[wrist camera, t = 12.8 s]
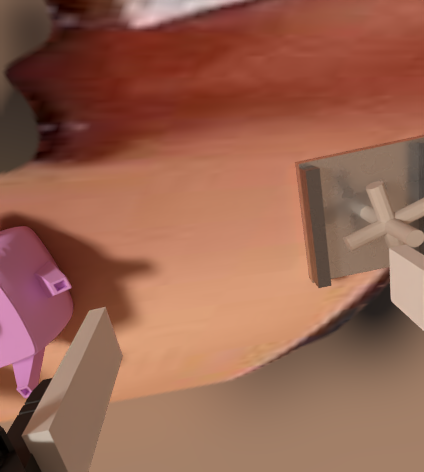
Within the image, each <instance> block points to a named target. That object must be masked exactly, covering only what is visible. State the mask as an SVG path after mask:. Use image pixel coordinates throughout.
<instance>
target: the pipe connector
mask: <svg viewBox="0 0 424 472" xmlns="http://www.w3.org/2000/svg"><path fill="white" fill-rule="evenodd" d="M366 191H367V193H368V196H369V199H370V201H371V204H372V206H365V207H364V208H363V209H362V210H361V212H360V215H361V217H362V218H363V219H364V220H366V221H368V222H369V223H371V224H369V225H367V226H365V227H363V228H361V229H359V230H357V231H355V232H353V233H351V234H349V235H347V236H345V237H343V239H344V242H345V244H346V246H347V247H348V249H349V250H350V251H353V250H356V249H358V248H360V247H362V246H364V245H366V244H368V243H370V242H372V241H374V240H376V239H378V238H380V237H382V236H384V238H385V241H386V244H387V246H388V249H389V248H391V247H396V246H401V245H405V244H407V245H408V246H410V247H418V246H420V245H421V244H422V243H423V241H424V233H423V232H422V231H420V230H418V229H416V228H414V227H412V226H410V225H408V224H409V223H411V222H413V221H415V220H417V219H419V218H421V217H423V216H424V198H422V199H420V200H418V201H416V202H414V203H412V204H410V205H408V206H406V207H404V208H402V209H400V210H398V211H396V212H394V211H393V208H392V206H391V203H390V200H389V197H388V194H387V192H386V189H385V186H384V183H383V182H382V181H376V182H373V183H370V184H369V185H367V186H366Z"/></svg>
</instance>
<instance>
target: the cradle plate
mask: <svg viewBox="0 0 424 472" xmlns="http://www.w3.org/2000/svg"><path fill="white" fill-rule="evenodd" d="M295 165H296V174H297V182H298V190H299V198H300V206H301V214H302V223H303V231H304V239H305V247H306V255H307V263H308V272H309V278H310V279H311V281H312V282H313V283H314V282H315V283H316V285H317V286H318V288H321V287H326V286H331V279H333V278H338V277H343V276H347V275H352V274H357V273H362V272H367V271H372V270H376V269H381V268H386V267H390V260H389V249H388V246H387V244H386V241H385V238H384V236H382V237H380V238H378V239H376V240H374V241H372V242H370V243H368V244H366V245H364V246H362V247H360V248H358V249H356V250H353V251H350V250H349V249H348V247H347V246H346V244H345V242H344V239H343V237H345V236H347V235H349V234H351V233H353V232H355V231H357V230H359V229H361V228H363V227H365V226H367V225H369V224H371V223H369V222H368V221H366V220H364V219H363V218H362V217H361V215H360V212H361V210H362V209H363V208H364V207H365V206H372V204H371V201H370V199H369V196H368V193H367V191H366V186H367V185H369V184H370V183H373V182H376V181H382V182H383V183H384V186H385V189H386V192H387V194H388V197H389V200H390V203H391V206H392V208H393V211H394V212H396V211H398V210H400V209H402V208H404V207H406V206H408V205H410V204H412V203H414V202H416V201H418V200H420V199H422V198H424V135H422V136H417V137H412V138H408V139H403V140H398V141H393V142H389V143H384V144H379V145H375V146H370V147H365V148H361V149H356V150H351V151H346V152H342V153H337V154H332V155H328V156H323V157H318V158H313V159H309V160H304V161H299V162H295ZM408 225H410V226H412V227H414V228H416V229H418V230H420V231H422V232H423V233H424V216H423V217H421V218H419V219H417V220H415V221H413V222H411V223H409V224H408ZM405 245H407V244H405ZM409 247H410V246H409ZM411 248H413V249H414V250H416V251H418V252H419V253H421V254H423V255H424V241H423V243H422V244H421V245H420V246H418V247H411Z"/></svg>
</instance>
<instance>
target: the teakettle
mask: <svg viewBox="0 0 424 472" xmlns="http://www.w3.org/2000/svg"><path fill="white" fill-rule="evenodd" d="M70 288H72V286H71V284H70V282H69V281H68V279H67V277H66V276H65V275H64V274H63V273H62V272H61V271H60V270H59V268H58V266H57V264H56V262H55V261H54V259H53V257H52V256H51V254H50V253H49V251H48V250H47V248H46V247H45V246H44V244H43V243H42V241H41V240H40V238H39V237H38V236H37V235H36V233H35V232H34V231H33V230H32V229H31V228H29V227H27V226H20V227H13V228H9V229H6V230H2V231H0V368H1V367H4V366H7V365H10V364H13V369H14V373H15V378H16V383H17V389H16V390H17V391H18V392H19V393H20V394H21V395H22V396H23V397H24V398H28V397H29V395H30V393H31V392H32V391H33V390H34V389H35V388H36V387H37V386H38V382H39V377H40V372H41V366H42V361H43V356H44V351H45V346H47V345H48V344H49V343H50V342H51V341H52V340H53V339H54V338H55V337H57V335H58V334H59V333H60V332H61V331H62V330H63V329H64V327H65V326H66V325H67V323H68V322H69V320H70V319H71V317H72V314H73V301H72V298H71V295H70V292H69V290H68V289H70Z"/></svg>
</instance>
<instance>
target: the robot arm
mask: <svg viewBox="0 0 424 472" xmlns="http://www.w3.org/2000/svg"><path fill="white" fill-rule="evenodd" d="M389 260H390V287H391V301H392V302H393V303H394V304H395V305H396V306H397V307H398V308H400V309H401V310H402V311H403V312H404V313H405V314H406V315H407V316H408V317H409V318H410V319H411V320H412V321H414V322H415V323H416V324H417V325H418V326H419V327H420V328H421V329H422V330H423V331H424V255H423V254H421V253H419V252H418V251H416V250H414V249H413V248H411V247H409V246H408V245H401V246H396V247H391V248H389ZM122 357H123V355H122V352H121V349H120V347H119V344H118V341H117V338H116V335H115V332H114V329H113V326H112V324H111V321H110V318H109V315H108V312H107V309H106V307H102V308H98V309H93V310H89V312H88V314H87V315H86V317H85V319H84V321H83V323H82V325H81V327H80V328H79V330H78V332H77V334H76V336H75V338H74V340H73V341H72V343H71V345H70V347H69V349H68V351H67V353H66V354H65V356H64V358H63V360H62V362H61V364H60V365H59V367H58V369H57V371H56V373H55V375H54V377H53V378H50V379H46V380H43V381H42V382H41V383H40V384H39V385H38V386H37V387H36V388H35V389H34V390H33V391H32V392H31V393H30V395H29V397H28V399H27V400H26V402H25V405H23V407H22V409H21V410H20V412H19V415H18V416H17V417H16V419H15V421H14V422H13V424H12V426H11V427H10V429H9V431H8V433H7V434H6V432H5V431H4V429H3V428H2V427H1V426H0V472H89V468H90V465H91V461H92V458H93V455H94V451H95V448H96V444H97V441H98V437H99V434H100V431H101V427H102V424H103V421H104V417H105V414H106V411H107V407H108V404H109V401H110V397H111V394H112V390H113V387H114V384H115V380H116V377H117V374H118V370H119V367H120V363H121V360H122Z"/></svg>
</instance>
